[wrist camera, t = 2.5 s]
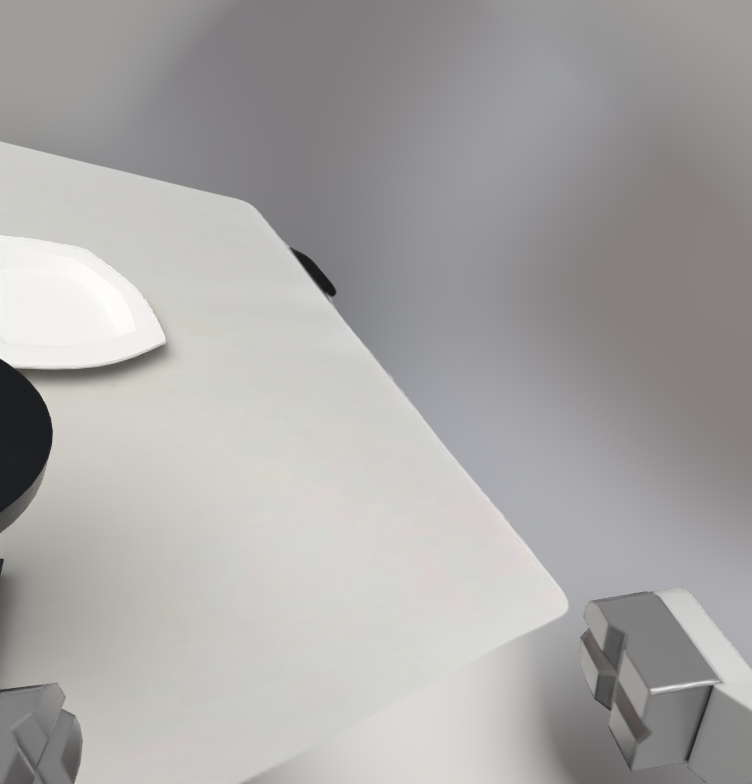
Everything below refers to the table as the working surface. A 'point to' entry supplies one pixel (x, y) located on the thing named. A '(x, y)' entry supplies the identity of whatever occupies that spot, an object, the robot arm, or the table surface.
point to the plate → (68, 309)
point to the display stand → (21, 444)
